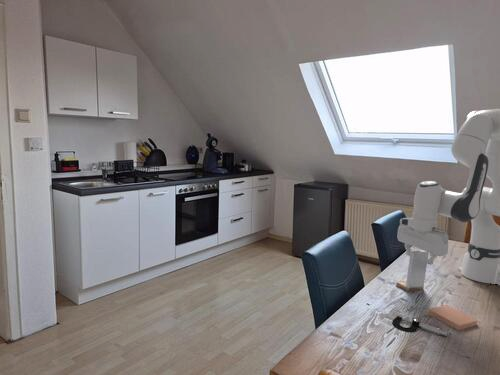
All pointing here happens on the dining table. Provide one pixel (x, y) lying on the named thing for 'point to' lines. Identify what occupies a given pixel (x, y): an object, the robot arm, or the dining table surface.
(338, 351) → the dining table surface
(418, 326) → the micrometer
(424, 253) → the bookend
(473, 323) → the tile
